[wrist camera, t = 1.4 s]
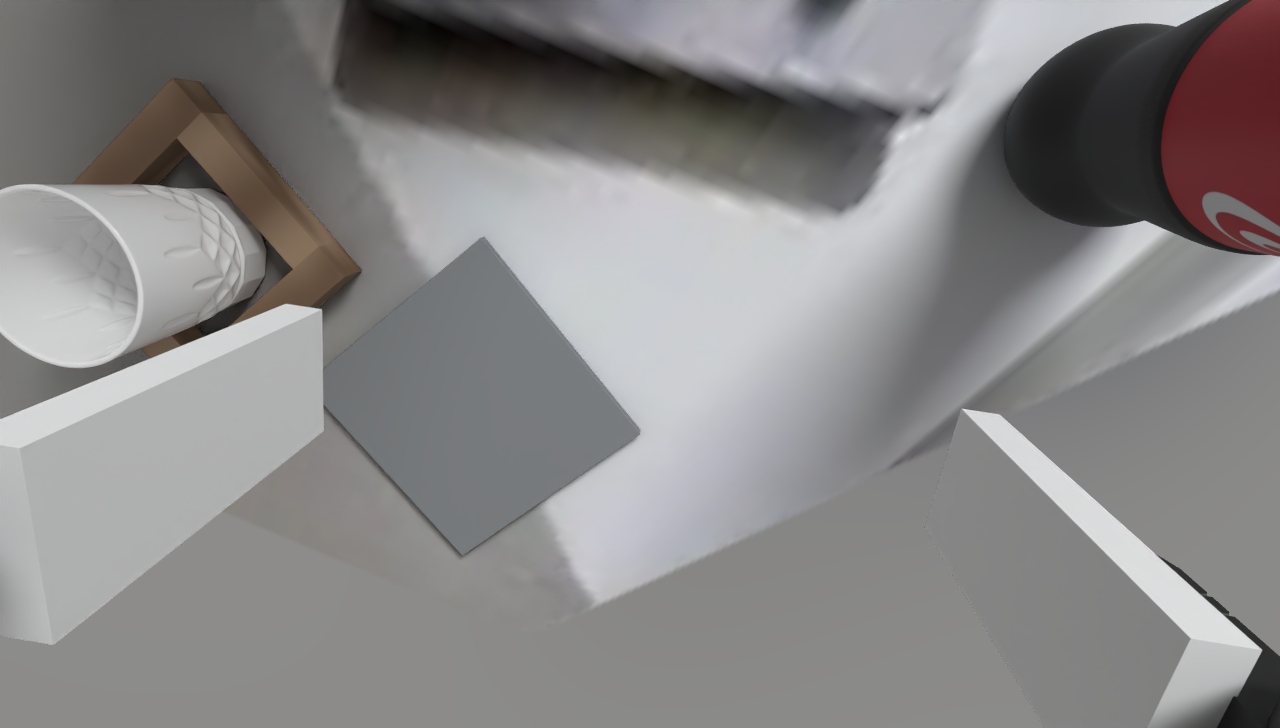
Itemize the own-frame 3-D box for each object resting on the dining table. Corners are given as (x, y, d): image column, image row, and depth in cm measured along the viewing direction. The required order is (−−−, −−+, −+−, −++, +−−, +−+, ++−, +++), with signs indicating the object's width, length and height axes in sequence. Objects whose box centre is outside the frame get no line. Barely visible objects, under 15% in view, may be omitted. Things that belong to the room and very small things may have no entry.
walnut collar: (60, 226, 39) (28, 230, 37) (200, 82, 36) (171, 78, 34) (219, 393, 41) (196, 405, 39) (362, 270, 38) (344, 276, 36)
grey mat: (310, 380, 40) (304, 384, 40) (484, 237, 37) (480, 238, 36) (465, 550, 43) (462, 555, 42) (640, 430, 40) (639, 434, 39)
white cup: (225, 151, 37) (62, 150, 27) (305, 282, 39) (178, 325, 29) (115, 213, 38) (-76, 234, 29) (197, 337, 40) (42, 395, 31)
